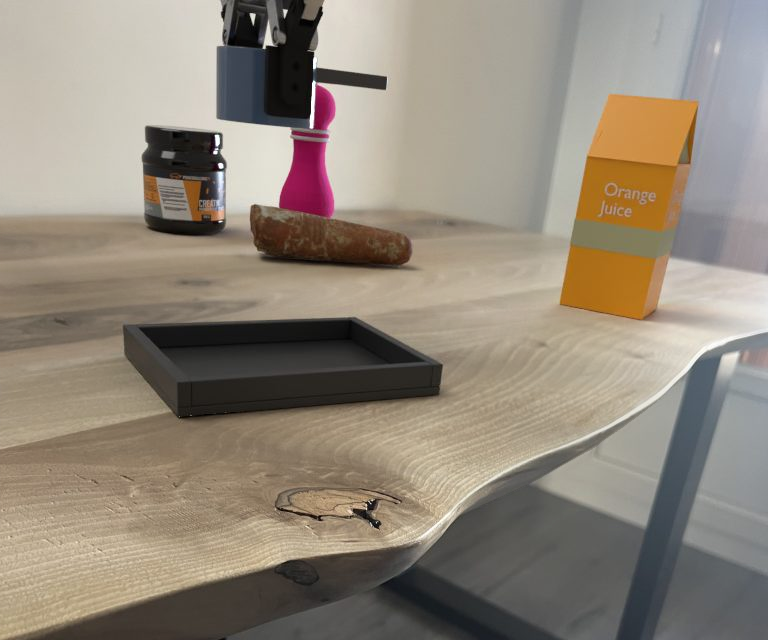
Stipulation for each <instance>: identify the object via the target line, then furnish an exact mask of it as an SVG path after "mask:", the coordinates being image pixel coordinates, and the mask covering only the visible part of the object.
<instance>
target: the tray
mask: <svg viewBox="0 0 768 640" xmlns="http://www.w3.org/2000/svg"><path fill="white" fill-rule="evenodd" d="M122 329H123V330H122V335H123V346H124V347H123V353H124V354H123V355H124V356H125V357H126V358H127V359H128V361H129V362H130V363H131V364H132V365H133V367H134V368H135V369H136V370H137V371H138V372H139V373H140V375H141V376H142V377H143V378H144V379H145V380H146V382H147V383H148V384H149V385H150V386H151V388H153V390H154V391H155V393H157V395H159V396H158V397H160V398H161V399H162V401H163V402H164V401H165V402H166V403H165V402H164V403H165V404H166V405H167V407H169V409H170V408H171V409H172V410H171V409H170V410H171V411H172V412H173V414H174V415H175V416H176V415H177V416H178V417H177V416H176V417H177V418H179V416H180V418H184V417H183V416H190V415H192V416H191V417H196V416H195V415H202V414H213V415H215V414H214V413H225V412H226V413H225V414H231V413H230V412H236V413H245V412H244V411H247V412H256V411H258V412H259V411H268V410H280V408H281V409H290V408H302V407H313V406H314V407H315V406H324V405H325V406H327V405H334V404H336V405H337V404H349V403H360V402H370V401H383V400H393V399H403V398H413V397H414V398H415V397H428V396H436V395H440V391H441V383H442V377H443V368H444V363H441V362H439V361H437V360H436V359H434V358H432V357H430V356H428V355H427V354H425V353H423V352H421V351H420V350H417V349H415V348H413V347H412V346H410V345H408V344H406V343H404V342H402V341H400V340H399V339H397V338H395V337H393V336H391V335H390V334H388V333H386V332H384V331H382V330H380V329H379V328H376V327H374V326H373V325H371V324H369V323H367V322H365V321H364V320H362V319H360V318H358V317H357V316H348V317H316V318H283V319H281V318H280V319H256V320H255V319H253V320H230V321H229V320H225V321H224V320H223V321H222V320H221V321H195V322H193V321H191V322H167V323H166V322H165V323H164V322H163V323H136V324H135V323H129V324H127V323H126V324H123V325H122ZM240 411H241V412H240ZM193 415H194V416H193ZM181 416H182V417H181ZM202 416H203V415H202Z"/></svg>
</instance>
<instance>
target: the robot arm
mask: <svg viewBox="0 0 768 640" xmlns="http://www.w3.org/2000/svg"><path fill="white" fill-rule="evenodd" d="M219 1H220V5H221V11H220V17H221V19H222V22H223V26H222V32H221V41H222V46H240V47H251V48H261V49H265V85H264V111H265V113H266V114H267V115H269V116H277V117H288V118H298V119H308V118H310V116H311V111H312V91H313V71H314V57H315V51H316V50H317V49H318V45H319V32H318V26H319V24H320V22H321V19H322V18H323V15H324V11H323V9H324V7H323V5H324V3H325V0H219ZM284 10H285V11H286V13H284V12H285V11H284ZM251 14H253V15H254V21H253V20H252V16H251ZM268 26H269V30H270V38H271V43H272V45H266V44H265V41H266V34H267V30H268ZM264 45H265V48H264Z"/></svg>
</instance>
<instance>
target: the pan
mask: <svg viewBox="0 0 768 640" xmlns="http://www.w3.org/2000/svg"><path fill="white" fill-rule="evenodd" d="M215 50H216V52H215V54H216V55H215V56H216V59H215V60H216V61H215V65H216V66H215V68H216V69H215V71H216V73H215V80H216V81H215V91H216V92H215V100H216V101H215V118H216V119H217V120H220V121H227V122H234V123H242V124H249V125H250V124H252V125H253V124H254V125H261V126H271V127H281V128H305V129H313V128H314V115H315V96H316V82H317V83H319V84H326V85H333V86H343V87H352V88H360V89H368V90H377V91H387V90H388V77H389V76H385V75H380V74H373V73H372V74H371V73H363V72H355V71H347V70H340V69H331V68H324V67H318V57H316V56H314V71H313V91H312V111H311V116H310V118H308V119H298V118H288V117H277V116H269V115H267V114H266V113H265V111H264V85H265V48H263V49H261V48H251V47H240V46H224V45H216V49H215Z"/></svg>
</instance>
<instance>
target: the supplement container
mask: <svg viewBox="0 0 768 640" xmlns="http://www.w3.org/2000/svg"><path fill="white" fill-rule="evenodd" d="M144 142H145V143H146V144H147V147H146V148H145V149H144V151H143V152H142V153H141V163H142V180H143V183H142V184H143V210H144V212H143V220H144V222H145V224H146V225H147V226H148V227H149V228H151V229H153V230H155V231H160V232H162V233H163V232H165V233H170V234H177V235H178V234H179V235H196V236H199V235H201V236H202V235H204V236H205V235H215V234H219V233H221V232H222V231H223V230H224V229H225V228H226V225H227V217H226V213H227V211H226V209H227V206H226V205H227V204H226V203H227V169H228V162H227V160H226V159H225V157H224V155H223V154H222V150H223V149H224V133H223V132H221V131H218V130H212V129H204V128H198V127H197V128H195V127H187V126H175V125H161V124H160V125H159V124H147V125H145V126H144Z"/></svg>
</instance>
